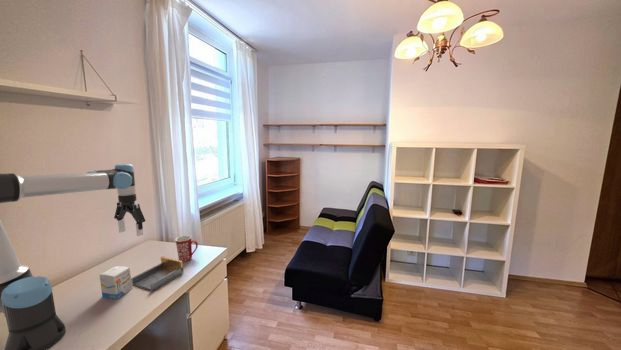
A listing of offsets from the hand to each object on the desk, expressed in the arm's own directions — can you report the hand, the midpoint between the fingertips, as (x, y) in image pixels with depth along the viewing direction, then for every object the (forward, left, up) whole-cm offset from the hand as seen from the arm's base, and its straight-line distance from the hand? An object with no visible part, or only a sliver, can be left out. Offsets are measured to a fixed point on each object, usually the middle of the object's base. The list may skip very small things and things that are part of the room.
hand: (131, 233), depth 132 cm
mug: (+25, -11, -25) cm, 36 cm away
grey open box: (+3, -14, -24) cm, 28 cm away
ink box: (-13, -7, -25) cm, 29 cm away
